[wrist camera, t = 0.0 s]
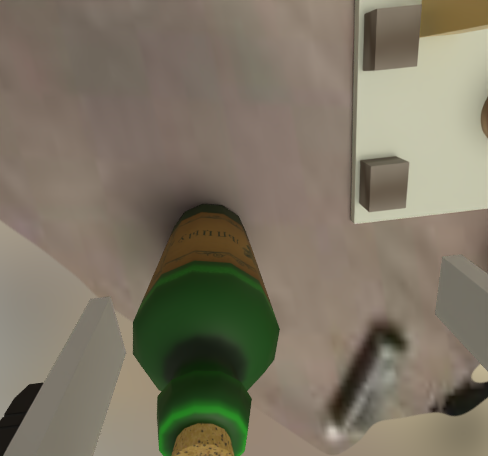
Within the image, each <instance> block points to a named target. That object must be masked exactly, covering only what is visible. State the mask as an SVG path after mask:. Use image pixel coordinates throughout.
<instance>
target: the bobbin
mask: <svg viewBox="0 0 488 456" xmlns="http://www.w3.org/2000/svg"><path fill="white" fill-rule="evenodd" d="M481 127H482V130H483V132H484V134H485V135H486V137H487V138H488V97H487V99H486V101H485V103H484V105H483V108H482V112H481Z"/></svg>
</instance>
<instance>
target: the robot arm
mask: <svg viewBox="0 0 488 456" xmlns="http://www.w3.org/2000/svg"><path fill="white" fill-rule="evenodd" d="M435 315H436V316H437V317H438V318H439V319H440V320H441V321H442V322H443V323H444V324H445V326H446V327H447V328H448V329H449V330H450V331H451V332H452V333H453V334H454V335H455V336H456V338H457V339H458V340H459V341H460V342H461V343H462V344H463V345H464V346H465V347H466V348H467V349H468V351H469V352H470V353H471V354H472V355H473V356H474V357H475V358H476V359H477V360H478V361H479V362H480V364H481V365H482V366H483V367H484V368H485V369H486V370H487V371H488V274H487V273H486V272H485V271H483V270H482V269H480V268H479V267H478V266H476V265H475V264H474V263H472V262H471V261H469V260H468V259H467V258H465V257H464V256H463V255H453V256H444V257H442V263H441V271H440V279H439V287H438V295H437V303H436V310H435ZM125 354H126V351H125V347H124V344H123V340H122V336H121V333H120V329H119V325H118V322H117V318H116V314H115V311H114V307H113V304H112V300H111V297H102V298H94V299H90V301H89V303H88V305H87V306H86V308H85V310H84V312H83V314H82V315H81V317H80V319H79V321H78V322H77V324H76V326H75V328H74V330H73V331H72V333H71V335H70V337H69V339H68V341H67V342H66V344H65V346H64V348H63V349H62V351H61V353H60V355H59V357H58V358H57V360H56V362H55V364H54V365H53V367H52V369H51V371H50V373H49V375H48V376H47V378H46V380H45V381H44V383H36V384H29V385H28V386H27V387H26V388H25V389H24V390H23V391H22V392H21V393H20V394H19V395H17V396H16V397H15V398H14V400H13V401H12V403H11V404H10V406H9V408H8V409H7V411H6V412H5V415H4V417H3V418H2V419H1V420H0V456H93V454H94V450H95V448H96V444H97V442H98V438H99V435H100V432H101V429H102V426H103V423H104V420H105V416H106V413H107V410H108V407H109V404H110V401H111V398H112V395H113V392H114V389H115V385H116V382H117V379H118V376H119V373H120V370H121V367H122V364H123V361H124V358H125Z"/></svg>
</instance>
